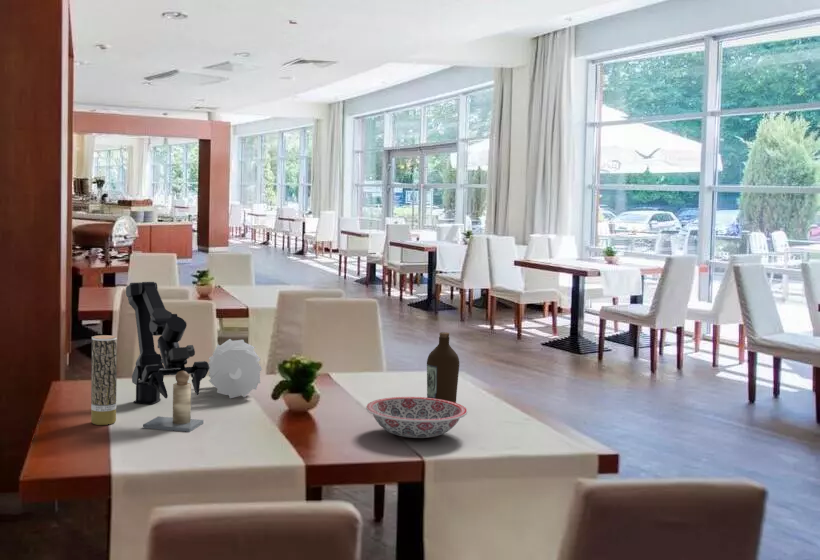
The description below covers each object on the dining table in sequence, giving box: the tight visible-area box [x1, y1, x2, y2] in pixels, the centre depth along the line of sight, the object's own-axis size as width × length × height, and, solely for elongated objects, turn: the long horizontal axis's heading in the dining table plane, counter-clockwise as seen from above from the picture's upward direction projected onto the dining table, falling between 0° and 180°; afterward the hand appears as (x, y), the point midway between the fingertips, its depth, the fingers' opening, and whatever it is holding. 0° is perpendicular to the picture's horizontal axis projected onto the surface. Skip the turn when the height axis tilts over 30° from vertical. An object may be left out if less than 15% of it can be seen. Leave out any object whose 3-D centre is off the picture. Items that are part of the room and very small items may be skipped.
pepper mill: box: [172, 371, 192, 424], centre depth 257 cm, size 5×5×15 cm
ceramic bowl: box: [365, 396, 468, 439], centre depth 257 cm, size 29×29×8 cm
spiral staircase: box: [207, 338, 263, 399], centre depth 302 cm, size 18×18×25 cm
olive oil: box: [426, 331, 460, 403], centre depth 290 cm, size 11×11×25 cm
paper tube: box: [90, 334, 118, 426], centre depth 256 cm, size 7×7×25 cm
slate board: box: [142, 415, 204, 433], centre depth 257 cm, size 14×10×1 cm
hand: (182, 396), depth 256 cm, fingers open, 9 cm apart
